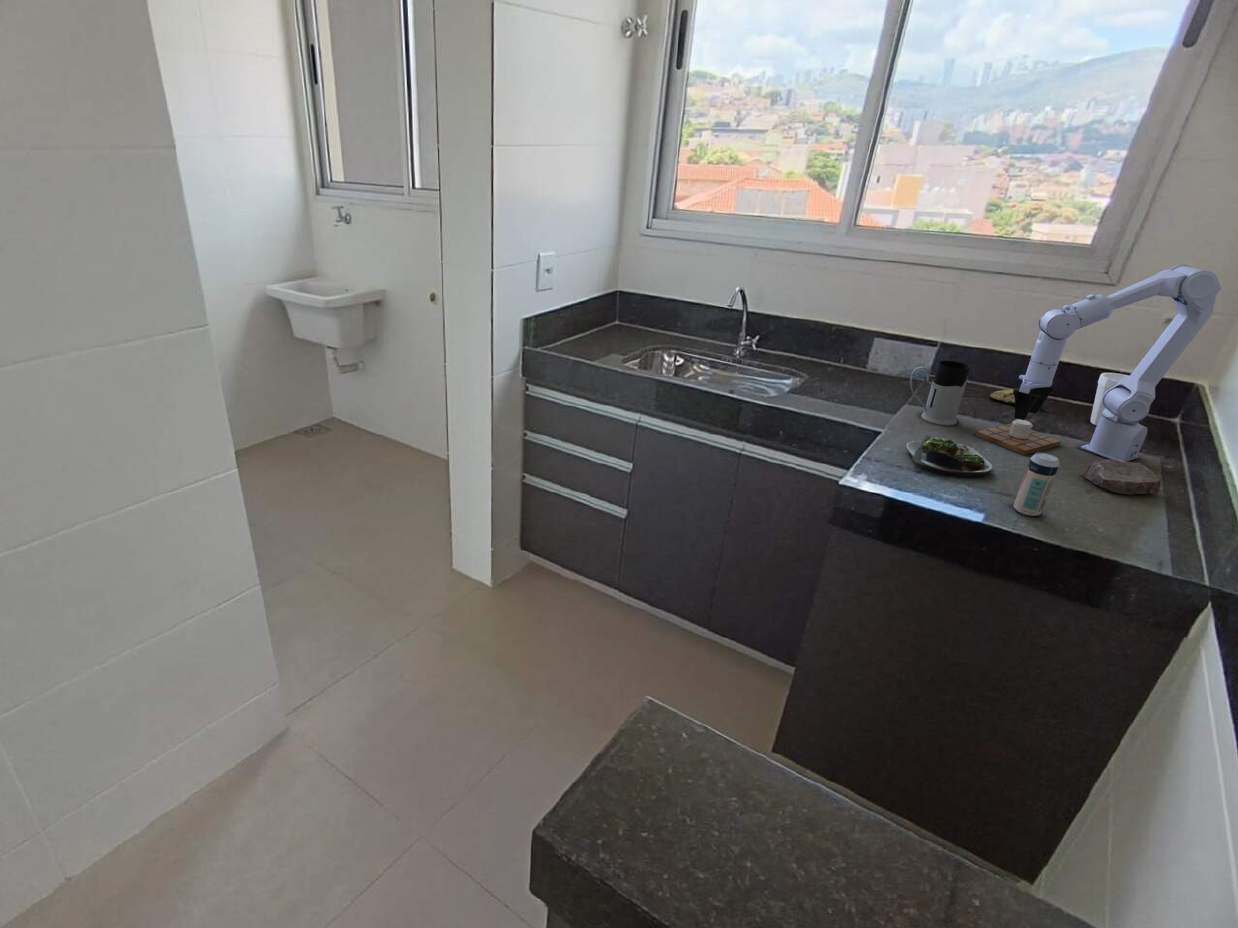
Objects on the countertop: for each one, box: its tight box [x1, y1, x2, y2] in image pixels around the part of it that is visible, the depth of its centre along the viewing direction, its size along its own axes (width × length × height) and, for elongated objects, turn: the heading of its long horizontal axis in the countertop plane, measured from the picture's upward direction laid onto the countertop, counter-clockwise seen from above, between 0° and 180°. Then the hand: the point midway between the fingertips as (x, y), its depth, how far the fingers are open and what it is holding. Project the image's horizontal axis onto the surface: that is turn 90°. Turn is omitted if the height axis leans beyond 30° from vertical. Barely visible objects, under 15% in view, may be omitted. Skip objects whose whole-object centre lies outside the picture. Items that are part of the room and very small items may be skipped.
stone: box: [1084, 459, 1162, 495], centre depth 142 cm, size 9×12×5 cm
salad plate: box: [906, 434, 994, 479], centre depth 150 cm, size 19×18×5 cm
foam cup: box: [1089, 372, 1129, 426], centre depth 175 cm, size 10×9×13 cm
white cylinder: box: [1009, 418, 1034, 439], centre depth 163 cm, size 4×4×4 cm
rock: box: [989, 388, 1015, 405], centre depth 190 cm, size 13×10×4 cm
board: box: [976, 422, 1061, 456], centre depth 164 cm, size 13×15×1 cm
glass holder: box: [909, 359, 971, 426], centre depth 172 cm, size 9×14×15 cm, turn 83°
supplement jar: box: [1013, 452, 1060, 517], centre depth 127 cm, size 5×5×12 cm
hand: (1025, 415), depth 161 cm, fingers open, 7 cm apart
